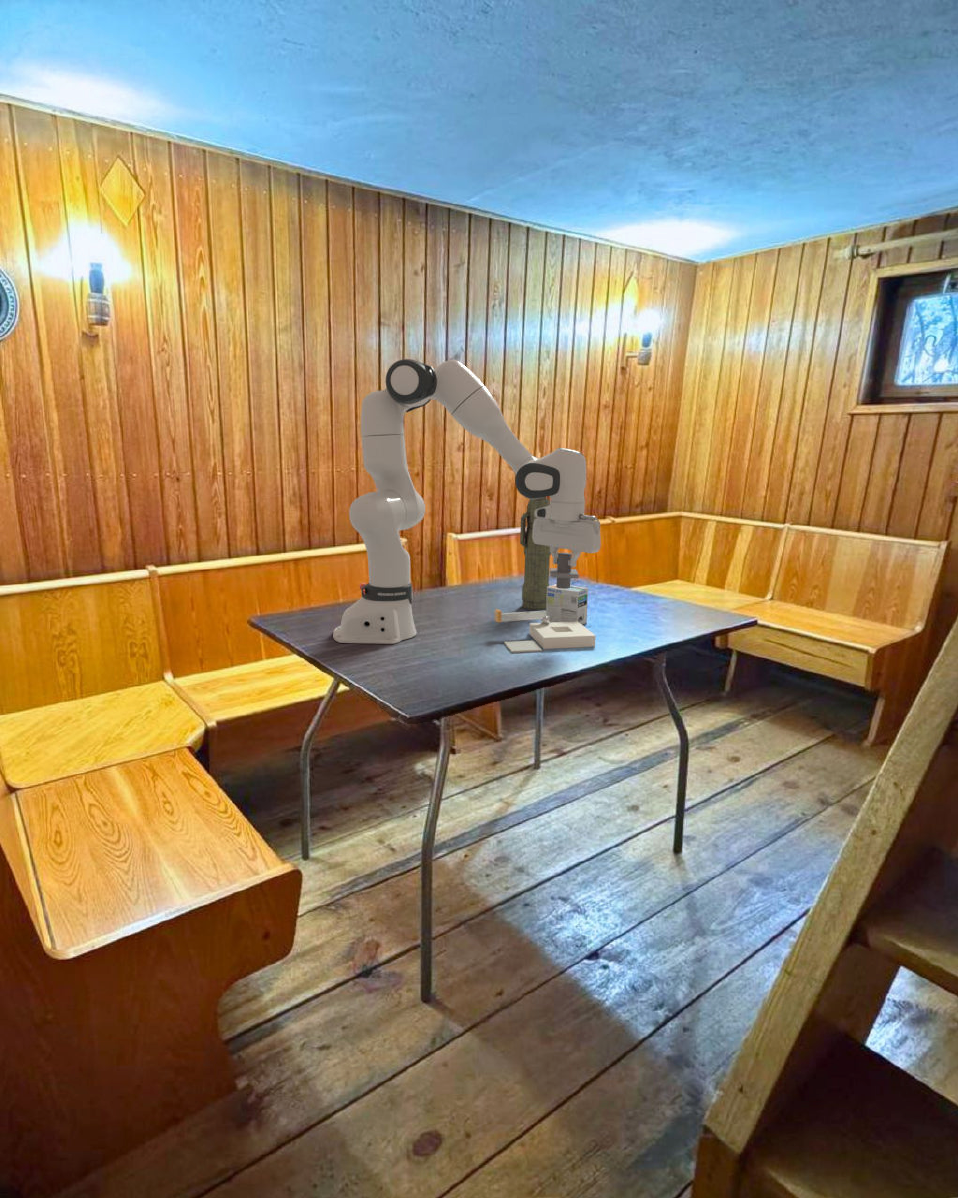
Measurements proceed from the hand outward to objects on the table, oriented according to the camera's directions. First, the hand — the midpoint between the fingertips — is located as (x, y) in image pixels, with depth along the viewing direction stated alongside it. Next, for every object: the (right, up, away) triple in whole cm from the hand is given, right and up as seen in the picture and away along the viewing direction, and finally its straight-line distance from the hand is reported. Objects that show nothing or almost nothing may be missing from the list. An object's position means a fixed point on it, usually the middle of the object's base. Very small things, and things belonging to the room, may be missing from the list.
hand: (564, 565), depth 180 cm
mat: (-11, -21, -2) cm, 24 cm away
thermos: (-4, -12, +40) cm, 42 cm away
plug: (0, -6, +1) cm, 6 cm away
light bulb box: (+3, -16, +22) cm, 28 cm away
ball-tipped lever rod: (-10, -16, +7) cm, 20 cm away
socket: (0, -20, +5) cm, 21 cm away
